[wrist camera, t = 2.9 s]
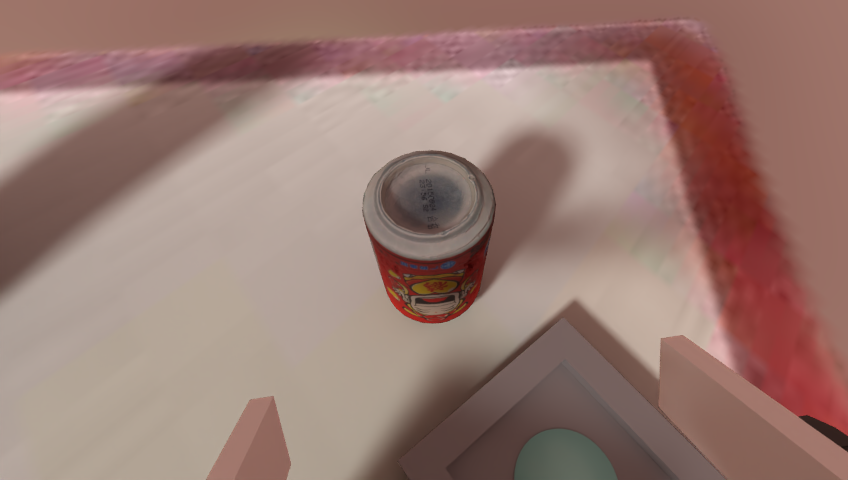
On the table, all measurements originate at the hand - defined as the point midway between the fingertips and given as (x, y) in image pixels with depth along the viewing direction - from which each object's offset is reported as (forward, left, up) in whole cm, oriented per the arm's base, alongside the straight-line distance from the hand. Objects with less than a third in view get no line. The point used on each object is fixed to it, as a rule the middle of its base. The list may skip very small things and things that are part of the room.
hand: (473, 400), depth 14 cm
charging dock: (+6, +3, -14) cm, 16 cm away
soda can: (-9, +5, -14) cm, 18 cm away
